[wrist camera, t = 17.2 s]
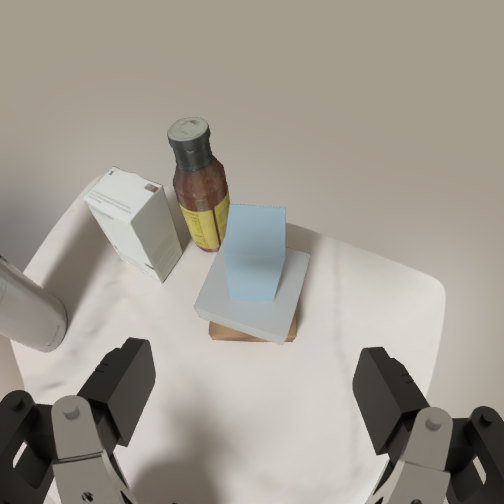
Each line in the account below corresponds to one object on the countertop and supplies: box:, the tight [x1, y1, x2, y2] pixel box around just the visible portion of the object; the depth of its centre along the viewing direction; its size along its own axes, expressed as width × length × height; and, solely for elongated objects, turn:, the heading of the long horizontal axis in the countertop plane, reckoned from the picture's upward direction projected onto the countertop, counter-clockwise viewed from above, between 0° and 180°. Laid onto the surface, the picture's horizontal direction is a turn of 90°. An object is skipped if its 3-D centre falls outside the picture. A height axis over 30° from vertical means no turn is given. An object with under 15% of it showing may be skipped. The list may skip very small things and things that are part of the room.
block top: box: [194, 238, 311, 345], centre depth 31 cm, size 10×10×4 cm
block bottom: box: [209, 309, 297, 342], centre depth 35 cm, size 10×10×4 cm
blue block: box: [223, 204, 286, 302], centre depth 25 cm, size 4×4×10 cm
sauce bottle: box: [167, 117, 230, 252], centre depth 32 cm, size 7×6×20 cm
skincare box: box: [83, 166, 183, 283], centre depth 33 cm, size 8×6×15 cm
